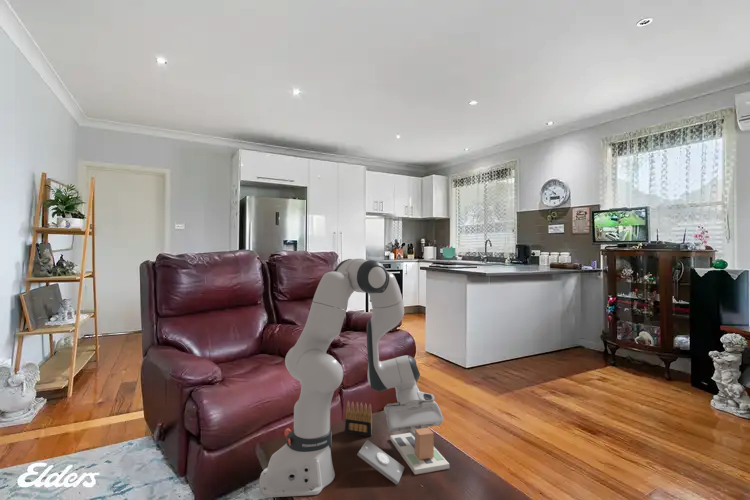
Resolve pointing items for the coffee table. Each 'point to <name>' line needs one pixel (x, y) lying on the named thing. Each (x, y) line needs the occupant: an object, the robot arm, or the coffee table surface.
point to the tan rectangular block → (424, 443)
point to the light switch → (381, 461)
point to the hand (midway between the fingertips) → (420, 441)
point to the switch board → (407, 451)
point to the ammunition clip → (358, 420)
